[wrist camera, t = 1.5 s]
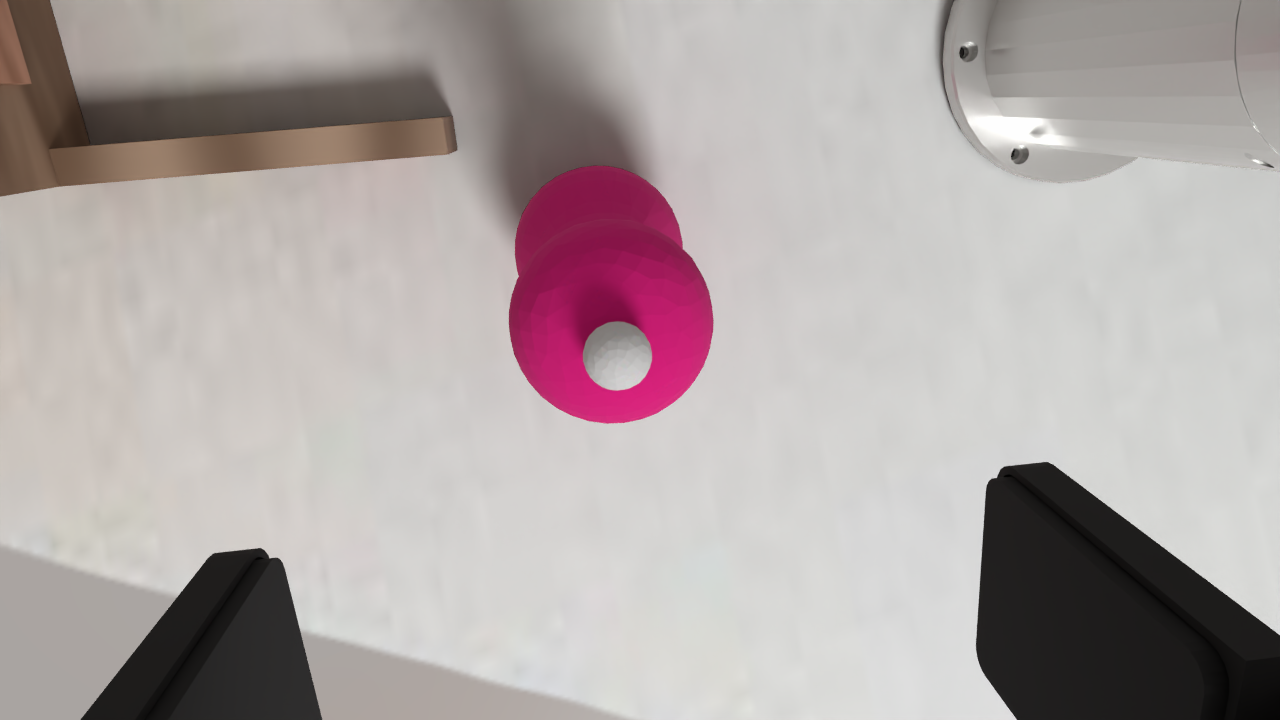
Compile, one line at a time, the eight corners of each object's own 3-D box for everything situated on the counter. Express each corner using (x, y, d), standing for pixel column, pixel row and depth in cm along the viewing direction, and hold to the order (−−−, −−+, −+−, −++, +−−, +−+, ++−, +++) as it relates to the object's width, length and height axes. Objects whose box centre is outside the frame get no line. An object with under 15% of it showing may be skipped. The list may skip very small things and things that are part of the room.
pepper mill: (507, 172, 37) (439, 246, 18) (659, 147, 38) (747, 195, 19) (536, 319, 40) (504, 520, 21) (680, 295, 40) (777, 472, 21)
